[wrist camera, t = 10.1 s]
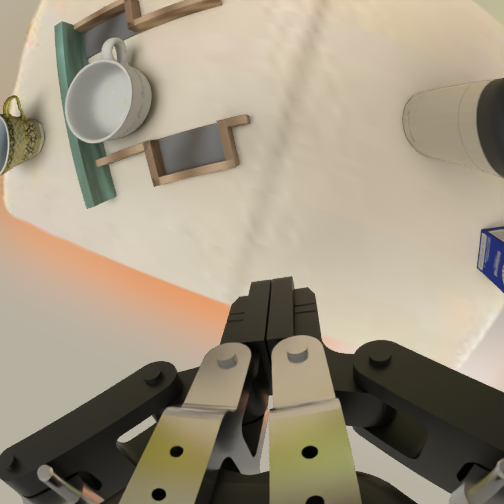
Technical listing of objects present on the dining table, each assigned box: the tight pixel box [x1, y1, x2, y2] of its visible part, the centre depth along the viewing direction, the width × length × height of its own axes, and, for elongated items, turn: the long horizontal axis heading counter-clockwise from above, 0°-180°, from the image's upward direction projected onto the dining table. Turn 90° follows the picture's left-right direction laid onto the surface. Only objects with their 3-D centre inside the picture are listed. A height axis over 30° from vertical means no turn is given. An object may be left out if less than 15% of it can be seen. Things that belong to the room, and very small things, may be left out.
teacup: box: [65, 37, 152, 143], centre depth 31 cm, size 14×11×8 cm
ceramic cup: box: [0, 96, 45, 175], centre depth 33 cm, size 13×10×10 cm
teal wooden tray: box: [54, 0, 250, 209], centre depth 31 cm, size 23×29×6 cm
